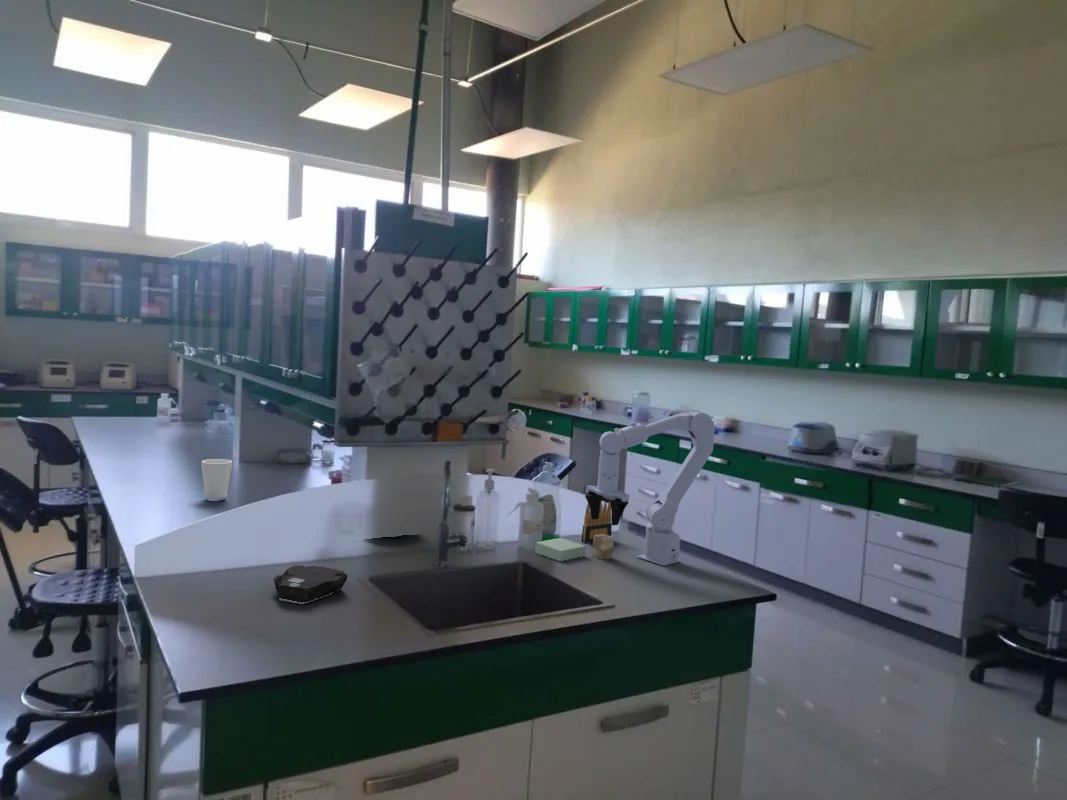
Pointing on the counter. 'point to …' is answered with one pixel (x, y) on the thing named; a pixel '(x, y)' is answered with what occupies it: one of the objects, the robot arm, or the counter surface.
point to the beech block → (602, 546)
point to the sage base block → (560, 549)
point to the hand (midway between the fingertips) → (604, 521)
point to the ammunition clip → (597, 523)
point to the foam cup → (216, 477)
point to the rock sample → (308, 582)
